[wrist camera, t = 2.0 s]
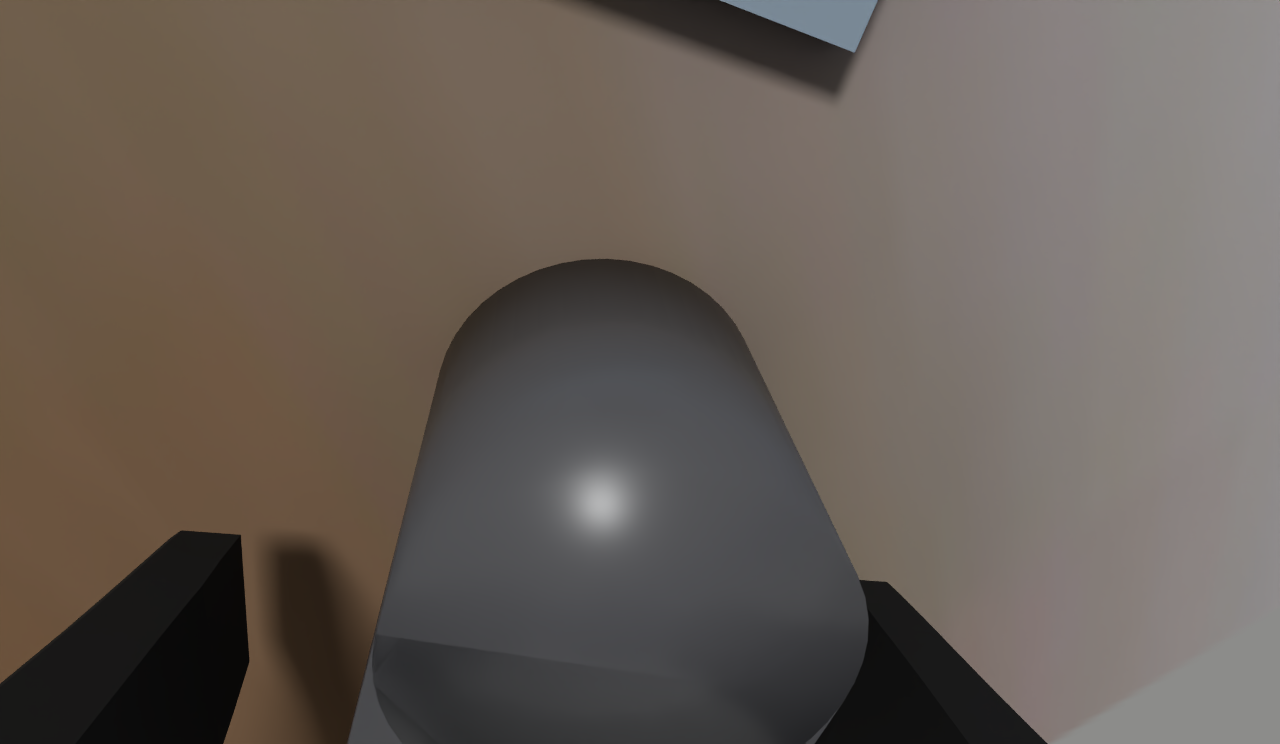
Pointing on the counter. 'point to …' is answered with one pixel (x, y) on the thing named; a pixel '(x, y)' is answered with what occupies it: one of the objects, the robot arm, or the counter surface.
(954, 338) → the counter surface
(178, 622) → the robot arm
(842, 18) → the rubber mat
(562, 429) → the connector
